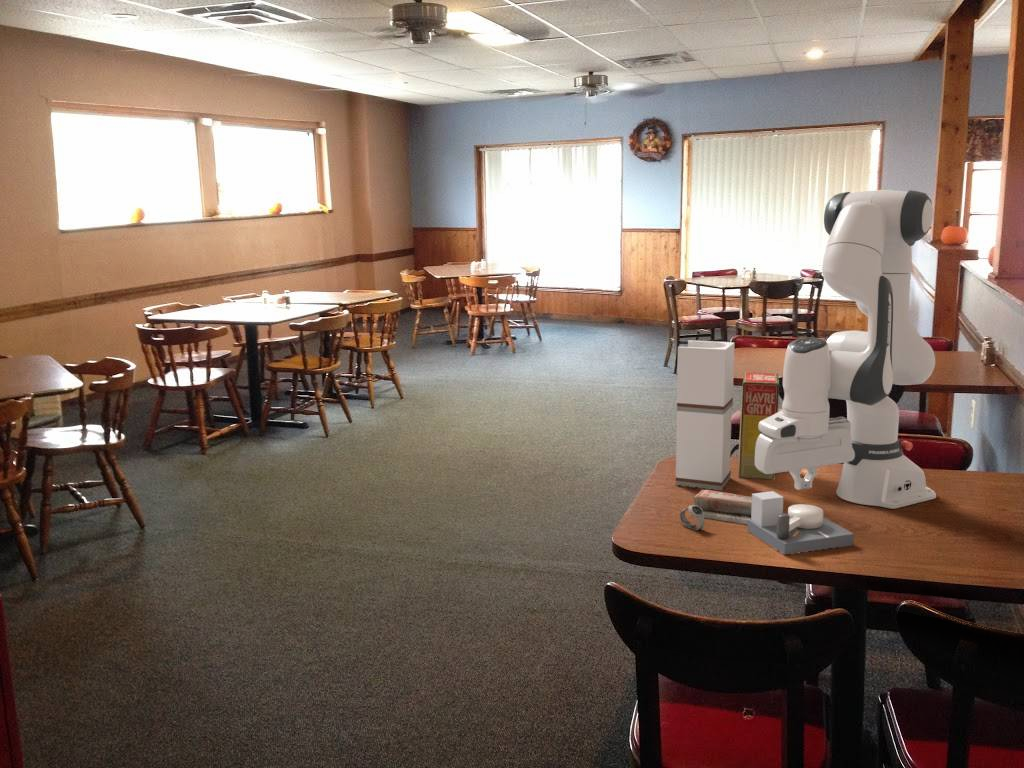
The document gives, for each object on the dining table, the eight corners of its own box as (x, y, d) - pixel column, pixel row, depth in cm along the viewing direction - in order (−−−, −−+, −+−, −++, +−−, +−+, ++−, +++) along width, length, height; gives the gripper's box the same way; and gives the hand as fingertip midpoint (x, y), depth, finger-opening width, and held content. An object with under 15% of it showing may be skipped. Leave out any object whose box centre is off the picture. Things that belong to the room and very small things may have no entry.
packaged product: (689, 497, 198) (702, 484, 207) (689, 517, 199) (702, 504, 208) (770, 508, 190) (780, 495, 198) (769, 530, 191) (779, 515, 199)
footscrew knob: (797, 514, 191) (797, 494, 190) (828, 521, 186) (829, 501, 185) (763, 533, 180) (764, 513, 179) (796, 542, 176) (797, 521, 175)
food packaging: (775, 480, 222) (779, 383, 217) (737, 477, 225) (740, 381, 219) (775, 464, 235) (779, 372, 229) (738, 462, 237) (741, 371, 232)
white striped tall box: (730, 477, 225) (734, 342, 217) (721, 490, 215) (725, 349, 208) (686, 472, 230) (688, 340, 222) (675, 485, 220) (677, 347, 213)
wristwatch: (697, 533, 189) (697, 511, 188) (676, 525, 194) (676, 503, 193) (708, 529, 191) (709, 507, 190) (687, 521, 196) (687, 499, 195)
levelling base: (812, 521, 194) (814, 485, 192) (853, 545, 180) (855, 506, 179) (747, 530, 189) (748, 493, 188) (784, 555, 176) (786, 515, 174)
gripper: (840, 411, 178) (838, 476, 182) (750, 423, 173) (749, 490, 176) (861, 419, 172) (857, 486, 176) (768, 431, 167) (767, 500, 170)
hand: (803, 488), depth 176 cm, fingers closed
